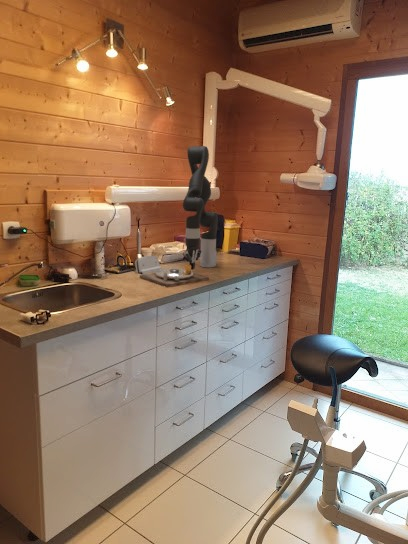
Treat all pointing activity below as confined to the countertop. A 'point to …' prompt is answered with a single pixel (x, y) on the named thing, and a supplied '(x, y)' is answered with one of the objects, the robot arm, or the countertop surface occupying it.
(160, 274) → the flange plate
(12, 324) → the countertop surface
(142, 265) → the hinge
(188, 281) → the base board
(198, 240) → the robot arm
